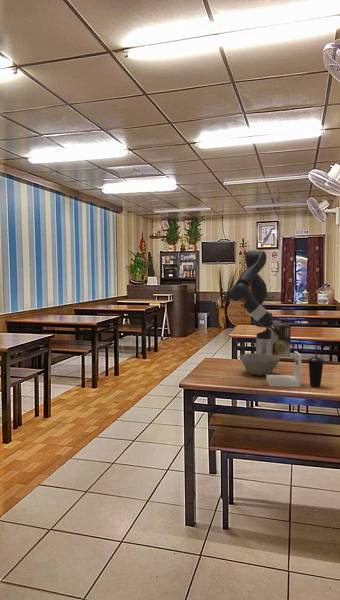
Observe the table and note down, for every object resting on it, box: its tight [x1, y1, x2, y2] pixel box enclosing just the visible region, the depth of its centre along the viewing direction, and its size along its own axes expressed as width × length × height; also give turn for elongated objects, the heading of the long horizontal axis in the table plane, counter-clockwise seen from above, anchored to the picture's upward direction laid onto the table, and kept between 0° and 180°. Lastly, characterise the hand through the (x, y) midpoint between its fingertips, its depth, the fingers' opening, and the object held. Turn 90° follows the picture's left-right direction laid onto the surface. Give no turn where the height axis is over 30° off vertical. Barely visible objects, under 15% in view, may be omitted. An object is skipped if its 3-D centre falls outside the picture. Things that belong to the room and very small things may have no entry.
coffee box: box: [271, 323, 292, 358], centre depth 216 cm, size 9×6×16 cm
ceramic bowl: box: [238, 352, 281, 376], centre depth 238 cm, size 22×23×10 cm
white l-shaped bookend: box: [265, 350, 302, 388], centre depth 217 cm, size 12×15×16 cm
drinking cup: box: [307, 346, 325, 388], centre depth 212 cm, size 8×8×20 cm
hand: (283, 338), depth 216 cm, fingers closed on coffee box, 6 cm apart
